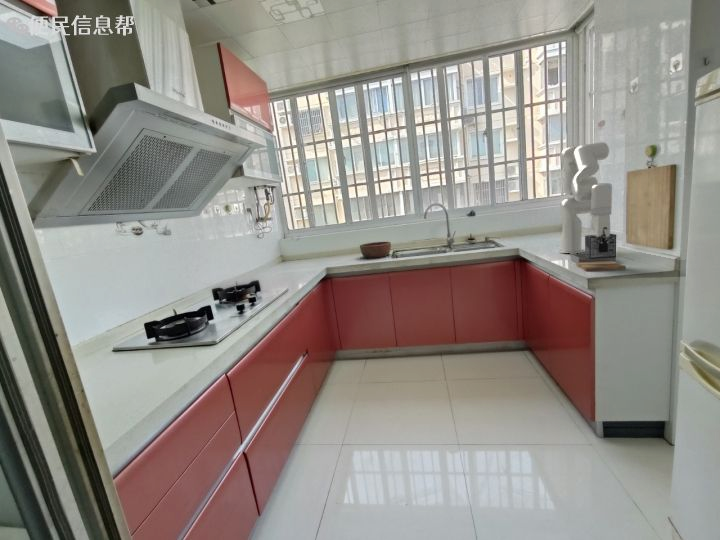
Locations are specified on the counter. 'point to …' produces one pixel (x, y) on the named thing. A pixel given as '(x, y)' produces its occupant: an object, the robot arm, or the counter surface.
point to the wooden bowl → (375, 249)
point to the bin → (582, 258)
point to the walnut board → (600, 266)
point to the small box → (593, 247)
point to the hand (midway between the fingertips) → (600, 250)
